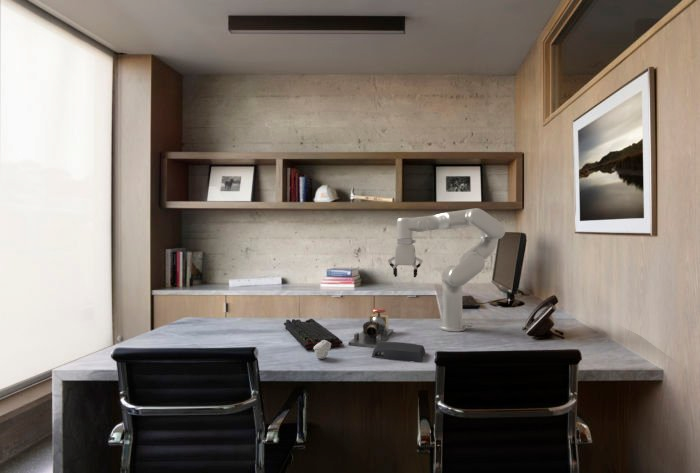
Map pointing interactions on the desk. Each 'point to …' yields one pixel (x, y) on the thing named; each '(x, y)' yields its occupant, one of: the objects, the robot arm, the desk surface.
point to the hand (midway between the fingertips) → (405, 276)
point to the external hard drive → (399, 351)
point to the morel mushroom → (370, 328)
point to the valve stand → (381, 333)
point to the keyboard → (311, 333)
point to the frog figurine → (322, 349)
